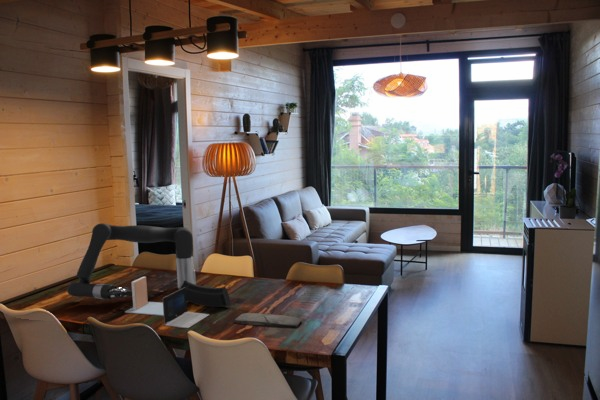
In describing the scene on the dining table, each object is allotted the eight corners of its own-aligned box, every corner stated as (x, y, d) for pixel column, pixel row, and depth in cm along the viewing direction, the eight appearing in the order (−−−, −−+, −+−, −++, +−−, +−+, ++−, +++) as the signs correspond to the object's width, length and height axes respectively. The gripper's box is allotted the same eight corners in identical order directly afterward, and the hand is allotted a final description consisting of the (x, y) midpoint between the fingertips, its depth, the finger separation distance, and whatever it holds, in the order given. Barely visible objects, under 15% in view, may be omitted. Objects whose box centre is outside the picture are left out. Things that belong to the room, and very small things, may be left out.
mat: (124, 312, 254) (124, 311, 254) (144, 302, 269) (144, 301, 269) (163, 315, 248) (162, 314, 248) (180, 304, 263) (180, 304, 263)
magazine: (235, 289, 255) (186, 267, 267) (231, 291, 252) (182, 268, 264) (228, 321, 259) (181, 297, 271) (224, 323, 256) (176, 299, 268)
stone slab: (297, 324, 226) (233, 316, 235) (297, 332, 226) (233, 323, 236) (304, 317, 235) (243, 309, 245) (304, 324, 236) (243, 316, 245)
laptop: (187, 329, 231) (186, 300, 229) (164, 326, 235) (162, 298, 234) (209, 315, 247) (208, 288, 246) (186, 313, 252) (185, 286, 250)
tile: (133, 310, 256) (131, 282, 254) (145, 303, 266) (143, 276, 264) (136, 310, 256) (134, 282, 254) (148, 303, 265) (146, 276, 263)
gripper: (95, 288, 260) (125, 290, 254) (112, 280, 272) (141, 282, 267) (96, 302, 260) (126, 305, 255) (113, 294, 273) (142, 296, 268)
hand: (134, 293), depth 261 cm, fingers closed
